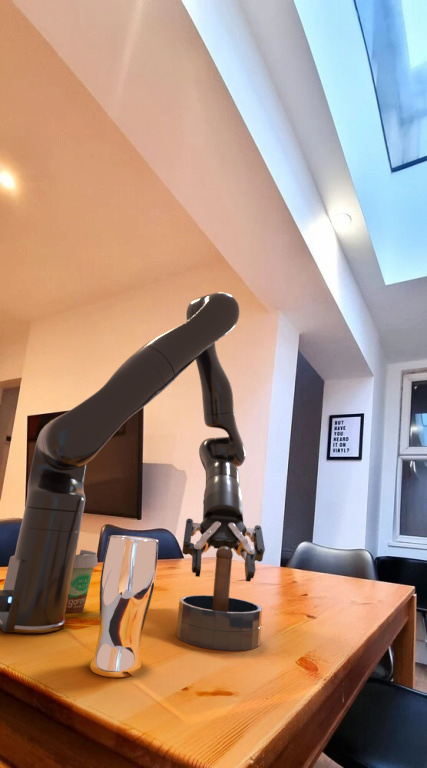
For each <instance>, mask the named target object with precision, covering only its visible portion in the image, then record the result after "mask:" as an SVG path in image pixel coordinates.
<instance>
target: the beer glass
mask: <svg viewBox="0 0 427 768" xmlns="http://www.w3.org/2000/svg"><path fill="white" fill-rule="evenodd" d="M159 542H160V540H159V539H156V538H152V537H144V536H135V535H134V536H133V535H121V534H119V535H117V534H114V535H113V534H112V535H111V534H110V535H108V539H107V544H106V548H105V553H104V556H103V562H102V566H101V573H100V581H99V627H98V636H97V642H96V646H95V650H94V652H93V655H92V658H91V662H90V666H89V669H90V671H91V672H93V673H94V674H96V675H99V676H102V677H106V678H128V677H133V674H132V673H130V672H133V671H137V670H138V669H140V668H141V666H142V653H141V652H142V651H141V648H142V647H141V646H142V637H143V630H144V626H145V622H146V619H147V616H148V611H149V607H150V604H151V602H152V599H153V598H152V597H153V593H154V589H155V584H156V578H157V572H158V571H157V569H158V556H159Z"/></svg>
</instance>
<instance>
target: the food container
mask: <svg viewBox="0 0 427 768" xmlns="http://www.w3.org/2000/svg"><path fill="white" fill-rule="evenodd" d="M98 566H99V565H98V556H97V552H95V551H91V550H85V549H80V552H79V554H76V556H75V561H74V567H73V573H72V578H71V584H70V590H69V595H70V598H69V603H68V602H67V606H66V614H65V615H73V614H83V613H84V610H85V605H86V601H87V597H88V593H89V588H90V584H91V581H92V576H93V572H94V568H96V567H98Z"/></svg>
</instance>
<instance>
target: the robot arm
mask: <svg viewBox="0 0 427 768" xmlns="http://www.w3.org/2000/svg"><path fill="white" fill-rule="evenodd" d="M185 313H186V314H185V315H186V316H185V317H186V321H185V322H183V323H182V324H180V325H178V326H175V327H174V328H172V329H170V330H168V331H166V332H164V333H162V334H160V335H158V336H157V337H155V338H153V339H152V340H149V341H148V342H146V343H145V344H144V345H142V346H141V347H140V348H139V349H138V350H137V351H136V352H134V353H132V355H130V356H129V357H128V358H127V359H126V360H125V361H124V362H123V363H121V365H119V367H118V368H117V370H115V372H114V373H113V374H112V375H111V376H110V378H109V379H108V380H107V381H106V382H105V383H104V385H103V386H102V387H101V388H100V389H99V390H97V391H96V392H95V393H94V394H92V395H91V396H89V397H88V398H86V399H84V401H82V402H81V403H79V404H78V405H76V406H74V407H72V408H71V409H70V410H68V411H67V412H65V413H63V414H61V415H59V416H57V417H55V418H54V419H52V420H51V421H49V422H48V423H46V424H45V425H44V426H43V428H42V429H41V430H40V432H39V434H38V437H37V440H36V443H35V447H34V452H33V457H32V462H31V467H30V472H29V477H28V482H27V493H26V494H27V496H26V502H25V507H24V509H23V510H24V511H23V516H22V520H21V525H20V529H19V534H18V538H17V542H16V548H15V552H14V555H11V556H10V557H9V561H8V565H7V571H6V574H5V579H4V584H3V588H2V589H0V629H1V630H2V631H3V632H4V633H19V634H20V633H21V634H45V633H51V632H56V631H59V630H61V629H63V628H64V626H65V622H66V619H65V618H66V617H65V616H66V615H67V614H66V606H67V602H68V603H69V598H70V595H69V590H70V584H71V578H72V573H73V567H74V561H75V556H76V555H77V551H78V544H79V539H80V538H79V537H80V532H81V528H82V521H83V516H84V511H85V506H86V505H85V504H86V494H85V491H84V490H85V489H84V484H85V483H84V482H85V477H86V476H85V475H86V470H87V469H86V468H87V464H89V462H91V461H92V460H93V459H94V458H95V457H96V456H97V455H98V453H99V452H100V451H101V450H102V448H104V446H106V445H107V443H108V441H110V439H111V438H112V437H113V436H114V435H115V434H116V432H117V431H118V430H119V429H120V428H121V427H122V426H123V425H124V424H125V423H126V422H127V421H128V420H129V419H130V418H131V417H133V416H134V415H135V414H137V413H138V412H139V411H140V410H141V409H143V408H145V407H146V406H147V405H148V404H149V403H151V402H152V401H153V400H154V399H155V398H156V397H158V396H159V395H160V394H161V393H162V392H163V391H165V389H167V388H168V387H169V386H170V385H171V384H173V382H174V381H175V380H176V379H177V378H178V377H179V376H180V375H181V374H182V373H183V372H184V371H185V370H186V369H188V367H189V366H191V365H192V364H193V363H194V362H195V363H196V367H197V372H198V376H199V381H200V388H201V397H202V409H203V419H204V420H203V421H204V424H205V426H206V427H208V428H213V429H219V430H223V431H224V432H226V434H227V435H228V436H220V437H219V436H218V437H208V438H205V439H204V440H203V441H202V442H201V443H200V445H199V447H198V454H199V458H200V462H201V464H202V467H203V469H204V471H205V472H204V473H205V487H204V493H203V501H202V502H203V503H202V505H203V512H202V513H203V514H202V521H201V522H200V523H199V522H194V520H193V519H192V518H186V521H185V527H184V534H183V542H182V549H181V550H182V551H181V553H182V554H183V555H184V556H185V555H190V556H191V558H192V559H191V572H192V574H195V575H194V576H195V577H196V578H200V577H201V570H202V555H203V554H204V553H207V552H208V551H209V549H211V548H212V547H213V549H217V550H218V548H220V547H221V546H227V547H229V548H230V549H231V550H232V551H234V552H235V553H236V555H237V556H240V557H241V558H242V559H243V561H244V576H245V577H244V578H245V582H249V583H250V582H251V581H252V579H254V577H255V574H256V562H259V563H260V562H263V559H264V554H265V552H266V549H265V542H264V536H263V530H262V526H261V525H259V524H257V525H255V526H254V527H253V528H252V527H247V526H246V525H245V523H244V512H243V511H244V510H243V497H242V491H241V486H240V485H241V484H240V472H239V469H238V467H241V466H242V465H243V463H245V461H246V455H247V452H246V448H245V445H244V442H243V439H242V436H241V434H240V432H239V429H238V425H237V422H236V421H237V420H236V415H235V404H234V394H233V393H234V392H233V389H232V385H231V383H230V380H229V378H228V376H227V374H226V372H225V370H224V368H223V366H222V364H221V362H220V358H219V357H218V352H217V348H216V342H218V341H219V340H221V339H223V337H225V336H226V335H227V334H229V333H230V332H232V330H233V329H234V328H235V327H236V325H237V323H238V321H239V319H240V305H239V303H238V301H237V299H236V298H235V297H234V296H233V295H231V294H229V293H226V292H213V293H209V294H206V295H202V296H199V297H196V298H194V299H192V300H191V301H190V302H189V303H188V305H187V308H186V312H185ZM197 532H199V533H200V534H201V537H200V538H199V539H198V540H197V541H196V542H195V543H194V542H192V537H195V535H196V534H197ZM246 536H247V537H248V538H249V540H250V542H251V543H253V547H252V546H251V544H250V543H249V542H248V538H246Z"/></svg>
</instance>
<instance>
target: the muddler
mask: <svg viewBox="0 0 427 768" xmlns="http://www.w3.org/2000/svg"><path fill="white" fill-rule="evenodd" d="M215 557H216V558H215V569H214V578H213V579H214V580H213V591H212V596H213V602H212V610H214V611H224V612H228V604H229V597H230V591H231V590H230V588H231V577H232V564H233V563H232V562H233V557H234V553H233V549H230V548H229V547H227V546H221V547H220V548H218V549H217V550H216V552H215Z"/></svg>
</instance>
